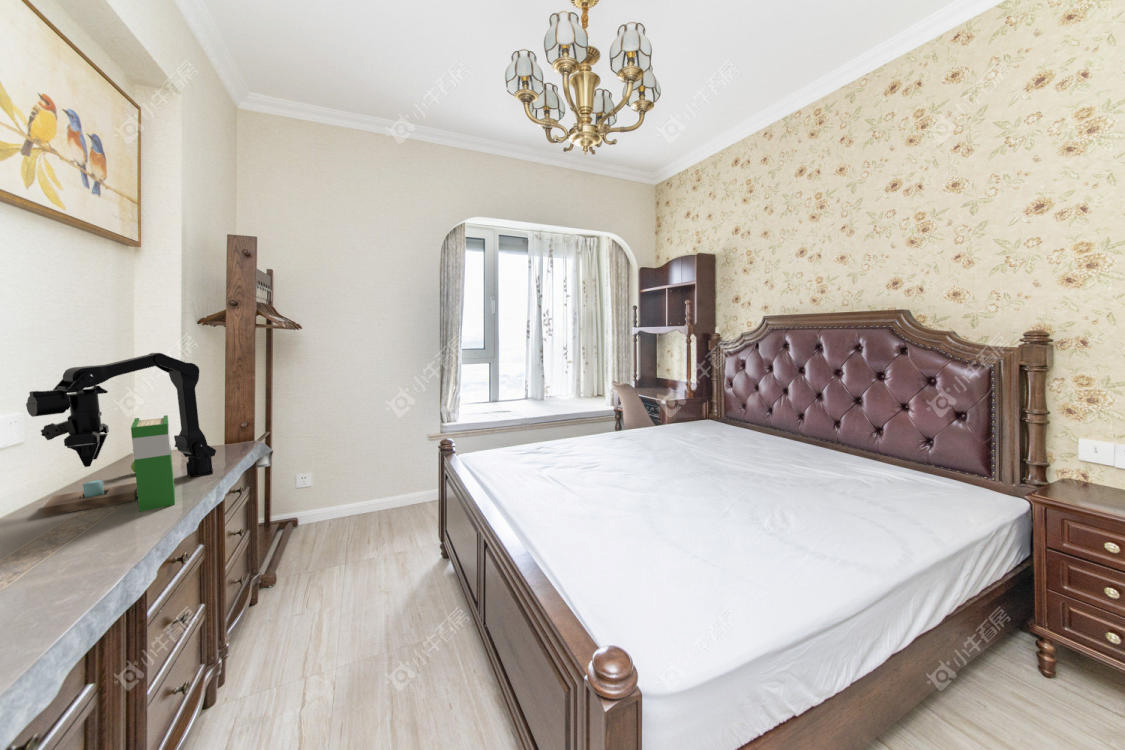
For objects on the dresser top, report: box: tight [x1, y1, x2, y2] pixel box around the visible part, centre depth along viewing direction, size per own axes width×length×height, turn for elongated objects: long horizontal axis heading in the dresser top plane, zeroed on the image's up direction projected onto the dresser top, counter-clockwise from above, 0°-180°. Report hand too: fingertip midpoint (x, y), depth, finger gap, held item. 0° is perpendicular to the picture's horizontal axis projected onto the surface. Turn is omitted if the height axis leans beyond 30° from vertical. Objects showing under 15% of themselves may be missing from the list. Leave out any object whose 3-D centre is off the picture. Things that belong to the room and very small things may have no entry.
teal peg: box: [82, 479, 105, 498], centre depth 128 cm, size 4×4×6 cm
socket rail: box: [41, 482, 138, 517], centre depth 128 cm, size 18×11×2 cm, turn 129°
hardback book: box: [130, 414, 176, 513], centre depth 129 cm, size 18×7×24 cm, turn 42°
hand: (90, 462), depth 127 cm, fingers open, 9 cm apart
